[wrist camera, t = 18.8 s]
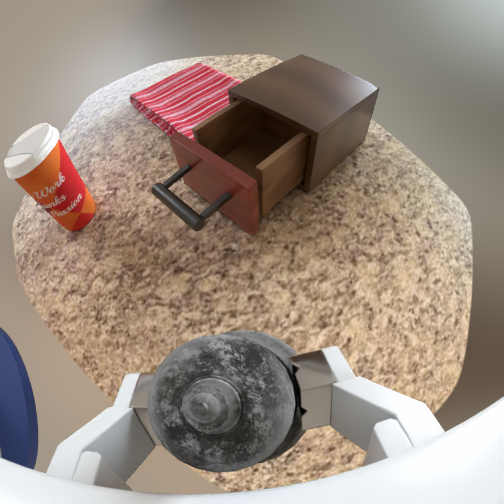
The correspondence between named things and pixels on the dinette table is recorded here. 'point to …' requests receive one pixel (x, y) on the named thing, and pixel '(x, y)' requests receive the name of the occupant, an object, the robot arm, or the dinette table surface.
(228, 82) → the dish towel
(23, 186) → the paper cup
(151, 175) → the dinette table surface
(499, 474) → the robot arm
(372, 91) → the cabinet
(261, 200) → the drawer
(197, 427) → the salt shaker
